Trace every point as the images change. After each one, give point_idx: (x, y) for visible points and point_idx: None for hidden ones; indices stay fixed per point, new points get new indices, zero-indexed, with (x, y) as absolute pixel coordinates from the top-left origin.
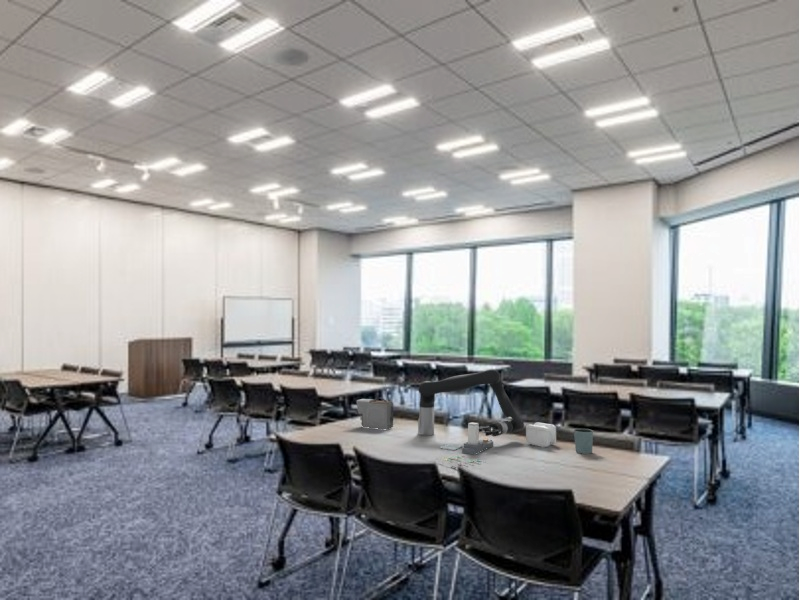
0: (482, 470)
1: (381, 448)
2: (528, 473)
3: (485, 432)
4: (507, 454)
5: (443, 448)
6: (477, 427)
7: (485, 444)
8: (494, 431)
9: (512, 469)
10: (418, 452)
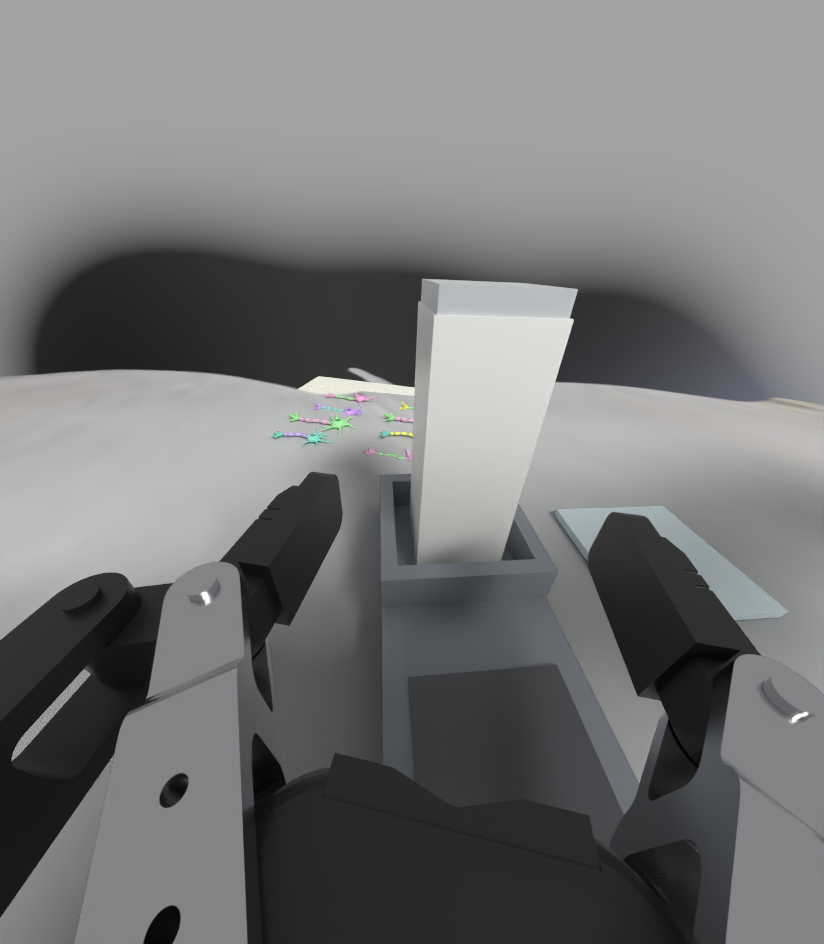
0: (268, 393)
1: (737, 417)
2: (69, 414)
3: (337, 479)
4: None
5: (636, 509)
6: (423, 348)
7: (402, 730)
8: (113, 578)
9: (138, 422)
10: (608, 431)
